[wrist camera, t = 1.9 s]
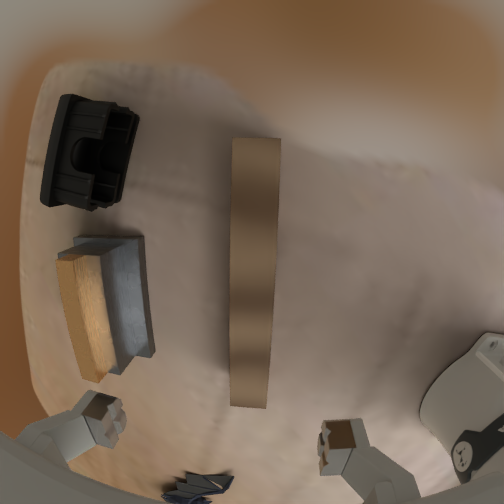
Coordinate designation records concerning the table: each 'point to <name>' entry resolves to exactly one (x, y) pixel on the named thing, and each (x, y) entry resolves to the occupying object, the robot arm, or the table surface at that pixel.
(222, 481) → the decorative bat
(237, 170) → the walnut beam
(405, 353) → the table surface
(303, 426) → the table surface
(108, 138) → the end cap
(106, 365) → the fulcrum stand
